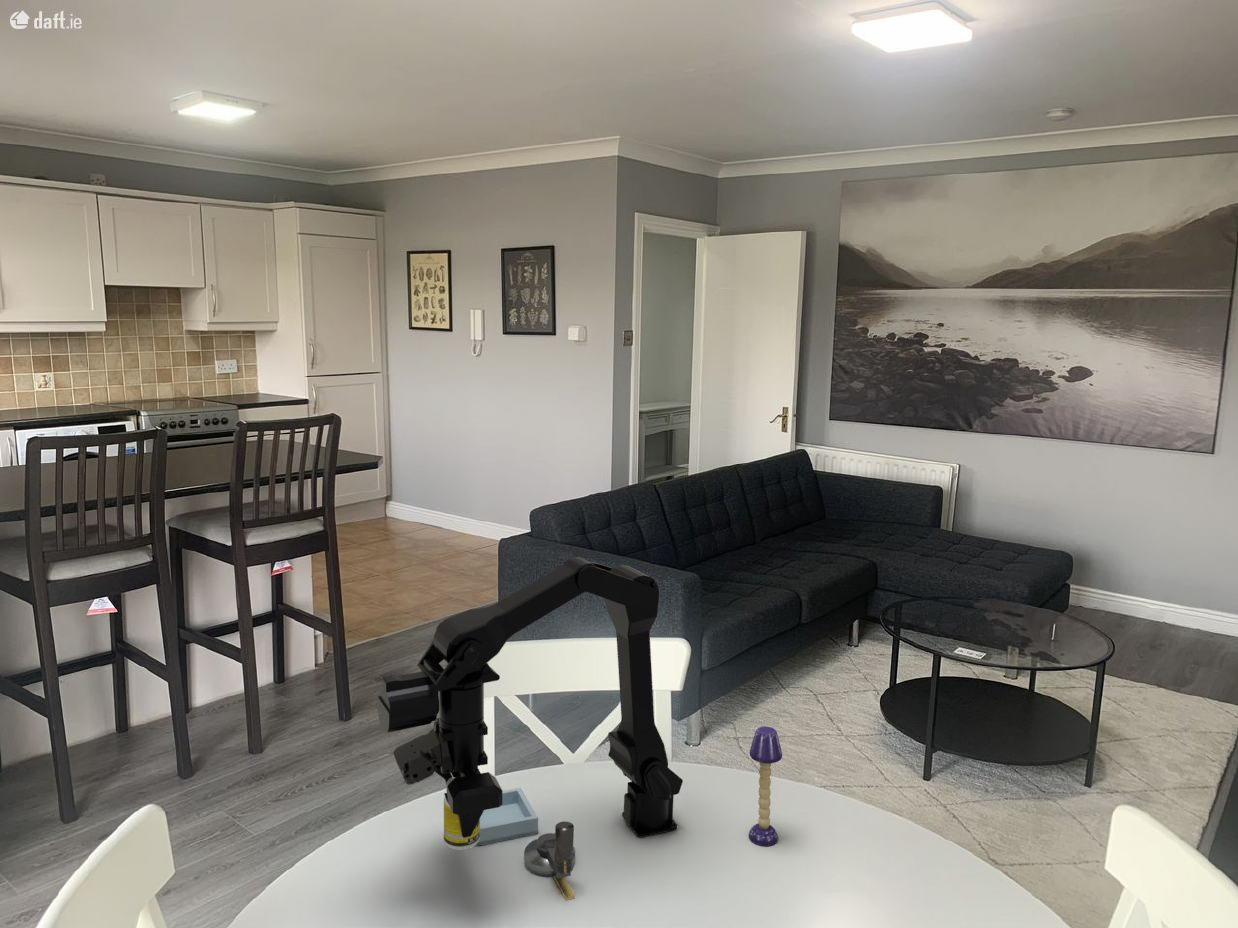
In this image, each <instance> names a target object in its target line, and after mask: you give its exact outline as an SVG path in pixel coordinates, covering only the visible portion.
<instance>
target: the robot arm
mask: <svg viewBox="0 0 1238 928" xmlns="http://www.w3.org/2000/svg"><path fill="white" fill-rule="evenodd" d="M585 593H588V594H592V595H595V596H598V597H601V598H603V600H604V603H605V608H606V612H607V613H608V615H609V617H610V619H611V622H612V624H613V626H614V628H615V634H616V636H615V637H616V647H617V648H616V650H617V667H618V668H617V669H618V685H619V699H620V714H621V715H620V717H621V718H620V719H621V720H620V723H619V725H618V727H617V729H616V730H615V731H609V732H608V734H607V738H608V741H609V752H608V757H609V758H610V759H612V761H613V763H614V764H615V766H616V767H618V768H619V770H621V772H622V774H623V775H624V777H627V778H628V779H629V780H630V781H628V782H627V789H626V790H627V793H624V795H623V811H622V812H621V814H622V815H621V816H622V817H623V820H624V821H625V823H626V824H627V825H628V826H629V828H631V830H632V832H633V833H634V834H635V835H636V837H638V838H642V837H647V836H652V835H657V834H662V833H667V832H670V831H675V830H677V829H678V824H677V823H676V821H675V820H674V819H673V818H674V797H675V796H676V795H678V794H680V791H681V788H682V786H683V782H684V781H683V778H681V777H680V776H678V774H677V773H675V772H674V771H673V770H671V769H670V768H669V760H668V755H667V752H666V750H667V749H666V747H665V743H664V741H663V739H662V736H661V735H660V732H659V730H658V728H657V726H656V722H655V713H654V712H655V711H654V692H653V689H654V688H653V687H654V686H653V673H652V671H653V670H652V652H651V651H652V650H651V649H652V648H651V629H652V627H653V625H654V622H656V619H657V618H658V614H659V606H660V595H661V594H660V593H661V591H660V585H659V584H658V582H657V581H656V580H655V579H654V578H652V577H651V576H650V575H647V574H645V573H643V572H641V571H639V570H638V569H636V568H633V567H631V566H630V565H626V564H618V565H617V566H614V567H610V566H607V565H605V564H602V563H598V562H593V561H588V560H586V559H585V558H582V557H579V556H575V557H571V558H568V559H567V560H566V561H565V562H564V563H563V564H562V565H560V566H559V567H557V568H555V569H553V570H552V571H550V572H548V573H547V574H545V575H543V576H541V577H539V578H538V579H536V580H534V581H533V582H531V583H529V584H528V585H526V586H524V587H522V588H520V589H519V590H517V591H515V592H513V593H512V594H510V595H508V596H507V597H505V598H503V599H501V600H499V601H498V602H496V603H495V604H490V605H489V606H486V607H479V608H474V609H473V608H472V609H468V610H465V611H463V612H460V613H458V614H455V615H452V616H450V617H448V618H445V619H444V620H443V621H441V622H440V623H439V624H438V625H437V627H436V630H435V632H434V635H433V640H432V642H431V643H430V645H429V646H428V647H427V650H426V651H425V652H424V653H423V655H422V657H421V658H420V659H419V661H418V663H417V664H416V665H417V668H418V669H419V671H417V672H411V673H406V674H401V675H397V674H391V675H385V676H383V677H382V678H381V686H380V688H379V690H378V695H377V696H376V706H377V714H378V720H379V724H380V727H381V729H382V731H383V732H384V733H385V734H387V733H392V732H398V731H402V730H403V731H404V730H408V729H411V728H412V729H413V728H417V727H422V726H426V725H431V724H432V722H433V728H432V729H431V730H430V731H429V732H428V733H426V734H422V735H420V736H418V737H416V738H414V739H412V740H409V741H407V742H405V743H403V744H401V745H399V746H397V747H396V748H395V749H394V750H393V755H394V759H395V762H396V764H397V766H398V770H399V771H400V773H401V776H402V778H403V780H404V782H405V784H406V785H410V786H411V785H414V784H415V783H420V782H421V781H424V780H425V779H427V778H429V777H431V776H433V775H434V773H436V774H438V776H440V777H441V778H442V779H444V783H445V786H446V787H445V788H446V789H447V791H446V792H444V793H443V795H444V797H446V800H447V802H448V804H449V805H450V808H451V810H452V813H453V814H457V815H458V818H459V823H460V828H461V833H462V837H463V838H465V837H470V836H471V835H472V833H473V831H474V829H475V827H476V825H477V823H478V821H479V819H480V817H481V815H482V813H483V812H484V810H487V809H492V808H498V807H500V806H501V805H502V791H503V789H502V786H501V785H500V783H499V781H498V780H497V778H496V777H495V776H494V775H493V774H492V773H490V772H489V771H487V772H481V771H480V769H479V766H480V767H481V766H484V765H488V764H489V763H488V762H489V761H488V760H489V758H488V755H487V753H486V752H485V742H484V741H485V740H484V739H485V736H488V732H489V729H488V725H487V724H486V722H485V717H484V716H485V715H484V714H485V711H484V710H485V708H484V707H485V697H484V696H485V690H484V689H485V688H484V687H485V685H484V684H486V683H491V682H497V681H499V680H500V678H501V676H500V675H499V674H498V673H497V672H496V671H495V669H493V668H492V667H491V666H490V665H489V662H490V661H491V660H492V659H493V658H495V657H496V656H497V655H499V654H500V652H501V650H502V649H503V647H504V646H505V645H506V643H507V642H508V641H509V640H510V639H511V638H512V637H513V636H515V635H516V634H518V633H519V632H521V631H523V630H525V629H526V628H528V627H529V626H531V625H532V624H535V623H536V622H538V621H540V620H541V619H542V618H544V617H546V616H547V615H550V614H552V612H554V611H556V610H558V609H560V608H562V607H563V606H564V605H565V606H566V604H568V603H569V602H572V601H573V600H575V599H576V598H578V597H580V596H581V595H584V594H585ZM442 661H444V662H445V663H446V664H447V665H445V668H443V666H442V665H441V664H440V663H441V662H442ZM438 715H439V716H438ZM437 716H438V717H437ZM450 778H453V780H452V781H451V782H450V783H449V785H448V786H447V781H448V780H449V779H450Z"/></svg>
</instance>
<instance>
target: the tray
mask: <svg viewBox="0 0 1238 928" xmlns="http://www.w3.org/2000/svg"><path fill="white" fill-rule="evenodd" d="M529 801H530V800H528V798H527V796H526V795H525V793H524V791H523V789H522V788H521V787H517V788H510V789H504V790H502V805H501V806H500V807H498V808H492V809H487V810H484V812H483V813H482V815H481V817H480V838H479V841H478V843H477V844H476V846H477V847H478V846H479V847H480V846H484V845H489V844H494V843H499V842H503V841H508V840H513V839H517V838H523V837H529V836H534V835H537V834H539V817H538V815H537V813H536V812H535V810H534V809H533V807H532V805H531V803H530V802H529Z"/></svg>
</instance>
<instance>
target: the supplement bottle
mask: <svg viewBox="0 0 1238 928" xmlns="http://www.w3.org/2000/svg"><path fill="white" fill-rule="evenodd" d="M452 780H453V778H450V779H449V780H448V781H447V786H448V785H449V783H450V782H451V781H452ZM445 791H446V792H447V788H446V789H445ZM479 838H480V819H479V821H478V823H477V825H476V827H475V829H474V831H473V833H472V835H471V836H470V837H465V838H463V837H462V833H461V828H460V823H459V818H458V815H457V814H453V813H452V810H451V808H450V805H449V804H448V802H447V800H446V797H445V796H444V798H443V843H444V844H445V846H446V847H447V848H450V849H452V850H456V851H457V850H460V851H461V850H468V849H471V848H473V847H475V846H477V843H478V841H479Z"/></svg>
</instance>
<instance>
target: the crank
mask: <svg viewBox="0 0 1238 928" xmlns="http://www.w3.org/2000/svg"><path fill="white" fill-rule="evenodd" d="M554 826H555V827H554V829H555V830H554V831H555V832H554V833H552V832H550V833H549V832H548V833H544V834H541V835H539V836H538V838H536V839H537V852H538V853H539V854H541V855H543V856H547V858H548V860H549V862H550V864H551V866H552V868H553V870H554V872H555V874H556V876H557V878H562V877H565V878H567V877H571V874H572V873H571V872H572V871H573V868H574V866H573V846H574V837H575V836H574V833H575V832H574V829H575V827H574V823H572V822H570V821H559V822H558V823H556V824H555V825H554Z"/></svg>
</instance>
